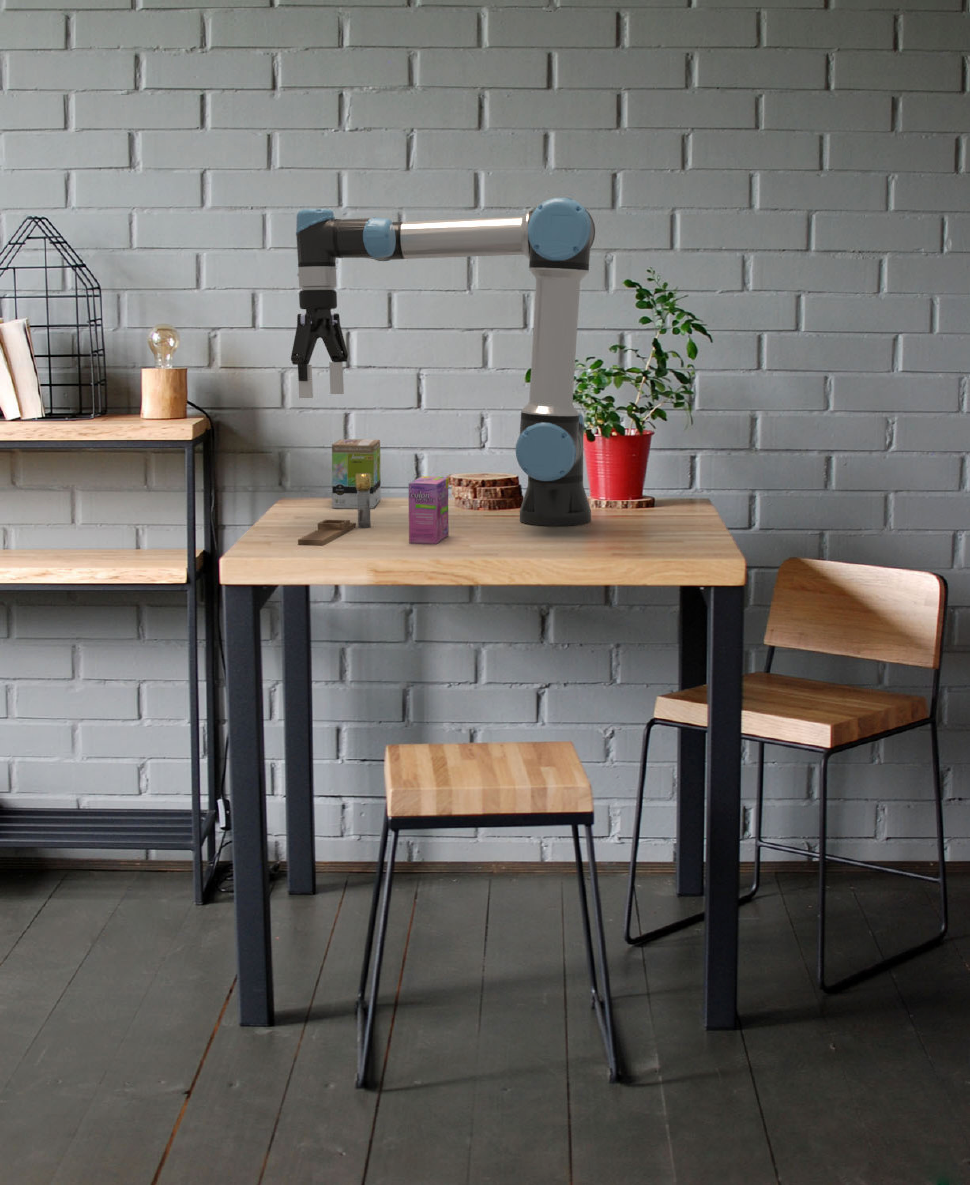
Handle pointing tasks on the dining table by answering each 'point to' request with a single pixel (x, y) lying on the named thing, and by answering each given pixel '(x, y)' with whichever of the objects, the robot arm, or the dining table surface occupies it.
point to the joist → (327, 532)
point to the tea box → (354, 470)
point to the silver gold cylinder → (363, 499)
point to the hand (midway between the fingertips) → (321, 396)
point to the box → (428, 510)
